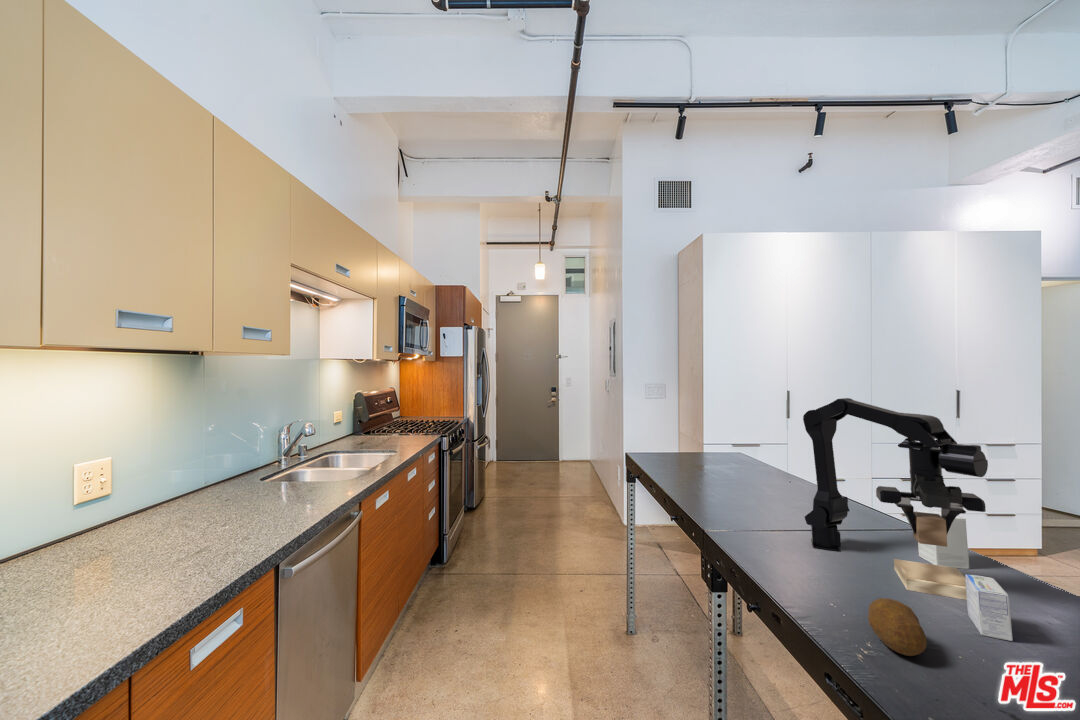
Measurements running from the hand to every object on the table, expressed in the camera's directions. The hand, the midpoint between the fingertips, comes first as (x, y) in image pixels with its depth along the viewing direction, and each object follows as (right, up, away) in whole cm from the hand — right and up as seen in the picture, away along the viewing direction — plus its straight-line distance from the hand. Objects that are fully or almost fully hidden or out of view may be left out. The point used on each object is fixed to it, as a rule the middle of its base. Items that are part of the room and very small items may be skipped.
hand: (929, 534), depth 102 cm
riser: (0, -12, -1) cm, 12 cm away
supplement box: (+13, -12, +11) cm, 21 cm away
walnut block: (0, -2, 0) cm, 2 cm away
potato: (-26, -12, -22) cm, 36 cm away
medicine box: (-5, -11, -18) cm, 22 cm away
